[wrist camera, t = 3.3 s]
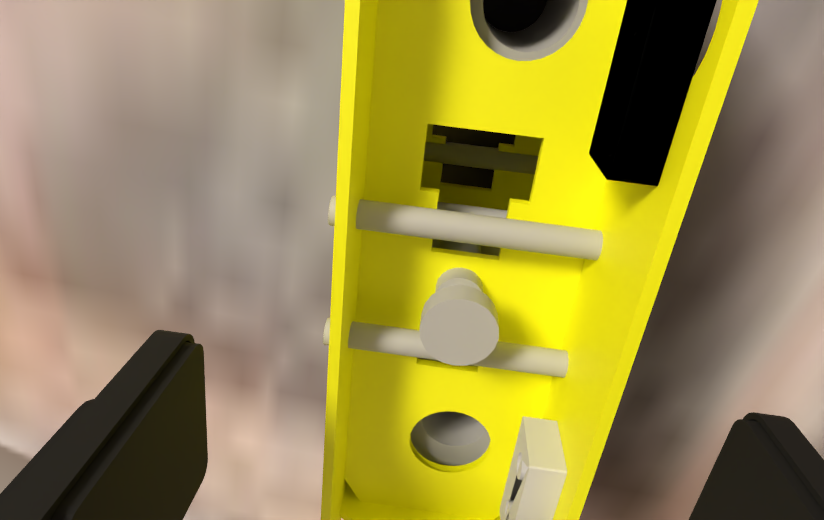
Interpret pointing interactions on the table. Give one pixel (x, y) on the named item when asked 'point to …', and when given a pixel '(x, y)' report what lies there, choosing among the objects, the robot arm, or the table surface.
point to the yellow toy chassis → (504, 243)
